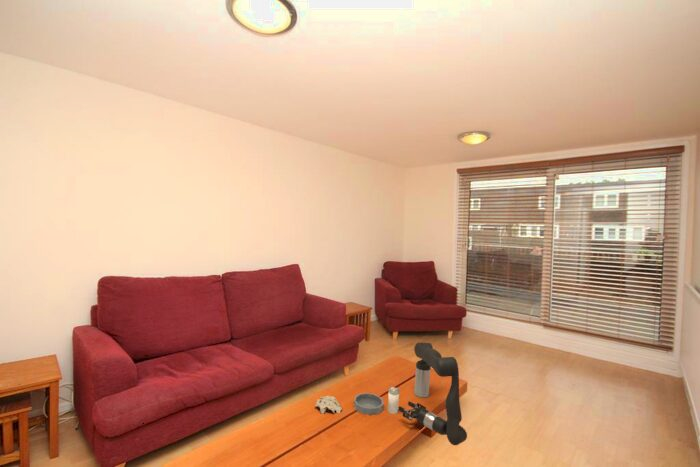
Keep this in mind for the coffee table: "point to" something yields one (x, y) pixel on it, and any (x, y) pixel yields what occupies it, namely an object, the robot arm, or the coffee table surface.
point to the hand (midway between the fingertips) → (403, 405)
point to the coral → (328, 404)
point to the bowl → (368, 403)
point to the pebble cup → (393, 400)
